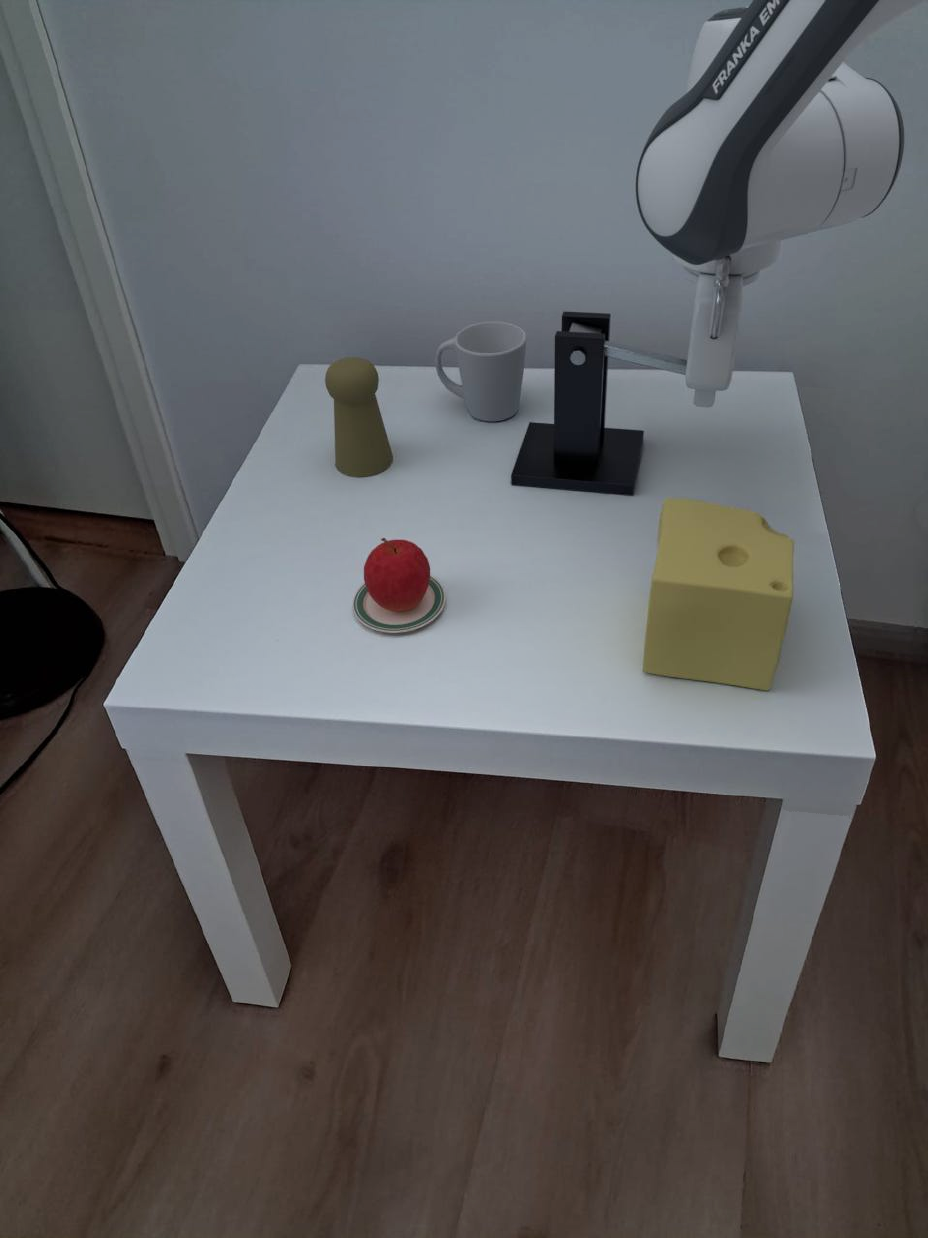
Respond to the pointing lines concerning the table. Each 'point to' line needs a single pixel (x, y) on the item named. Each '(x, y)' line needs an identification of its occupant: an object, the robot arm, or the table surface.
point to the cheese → (718, 595)
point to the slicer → (580, 422)
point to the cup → (487, 368)
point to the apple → (398, 589)
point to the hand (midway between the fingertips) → (705, 385)
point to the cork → (357, 418)
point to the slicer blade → (636, 353)
